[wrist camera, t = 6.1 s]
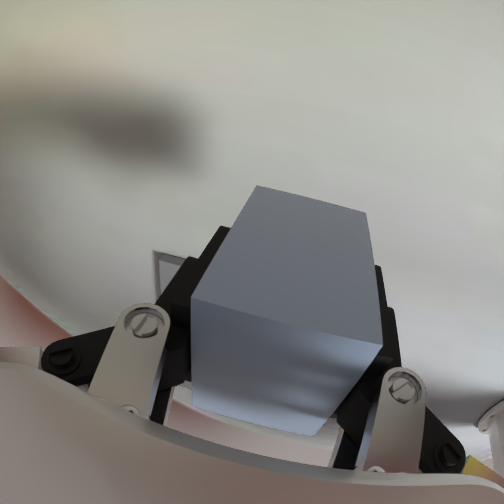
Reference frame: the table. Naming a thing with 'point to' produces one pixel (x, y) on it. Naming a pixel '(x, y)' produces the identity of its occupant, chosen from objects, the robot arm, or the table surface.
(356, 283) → the plug
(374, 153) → the table surface
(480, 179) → the table surface
